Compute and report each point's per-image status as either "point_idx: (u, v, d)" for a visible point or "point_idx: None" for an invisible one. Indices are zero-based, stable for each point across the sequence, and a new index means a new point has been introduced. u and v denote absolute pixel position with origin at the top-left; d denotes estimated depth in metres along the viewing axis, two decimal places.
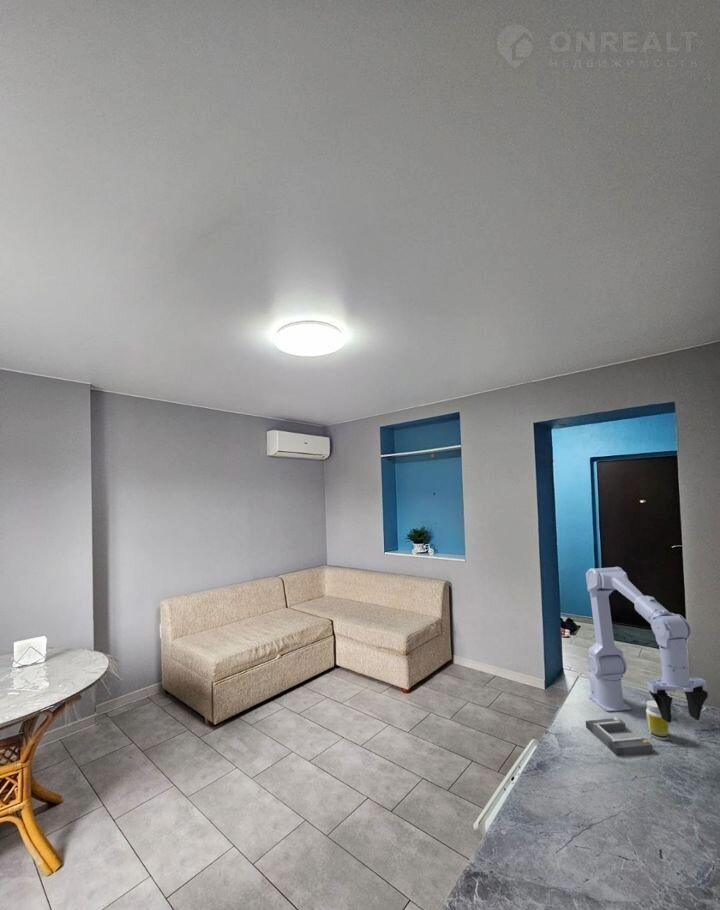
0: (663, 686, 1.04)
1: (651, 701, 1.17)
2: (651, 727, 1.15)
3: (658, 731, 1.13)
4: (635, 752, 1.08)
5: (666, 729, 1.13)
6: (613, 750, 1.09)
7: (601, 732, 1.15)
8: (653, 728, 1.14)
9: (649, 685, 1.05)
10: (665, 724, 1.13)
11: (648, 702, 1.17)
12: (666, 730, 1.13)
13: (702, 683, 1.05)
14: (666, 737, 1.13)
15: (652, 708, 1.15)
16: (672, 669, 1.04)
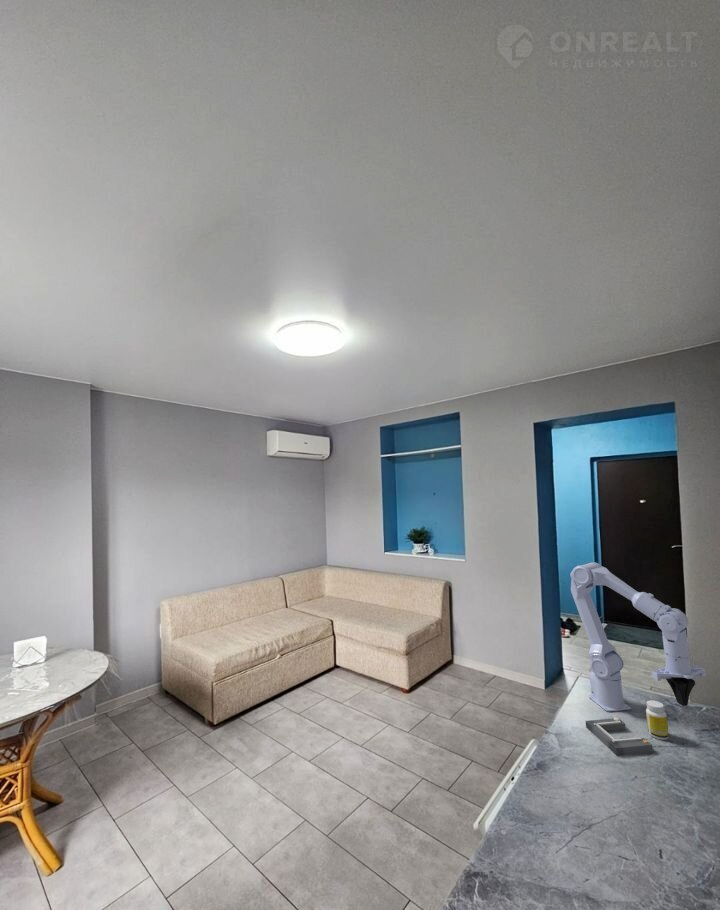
0: (666, 674, 1.15)
1: (651, 701, 1.17)
2: (651, 727, 1.15)
3: (658, 731, 1.13)
4: (635, 752, 1.08)
5: (666, 729, 1.13)
6: (613, 750, 1.09)
7: (601, 732, 1.15)
8: (652, 728, 1.14)
9: (654, 673, 1.17)
10: (665, 724, 1.13)
11: (648, 702, 1.17)
12: (666, 730, 1.13)
13: (701, 671, 1.17)
14: (666, 737, 1.13)
15: (652, 708, 1.15)
16: (674, 659, 1.16)
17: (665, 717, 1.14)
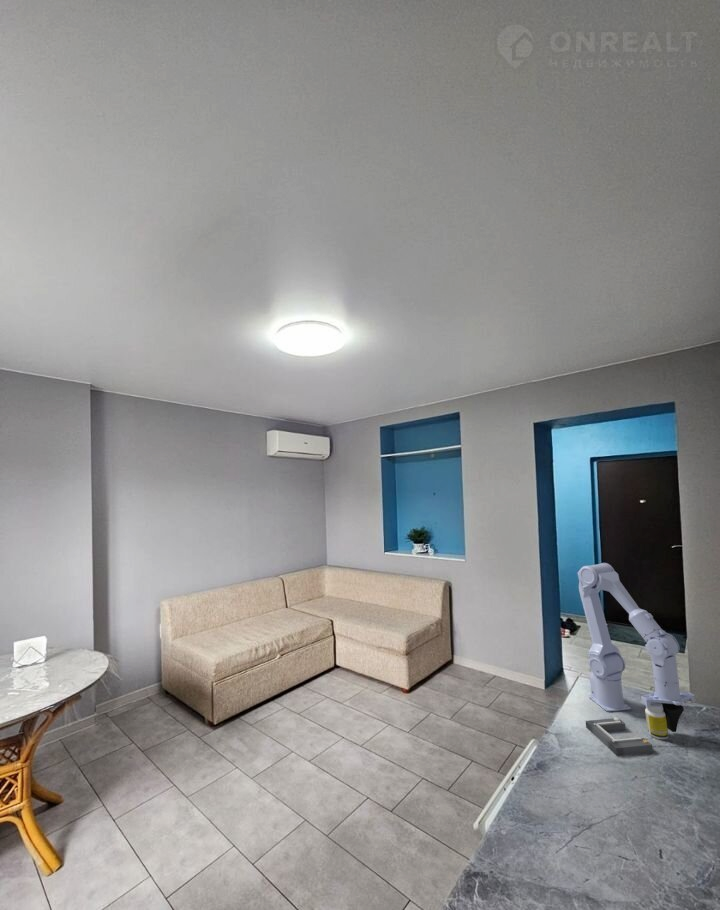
0: (656, 700, 1.15)
1: None
2: (651, 727, 1.15)
3: (657, 731, 1.13)
4: (635, 752, 1.08)
5: (666, 729, 1.13)
6: (613, 750, 1.09)
7: (601, 732, 1.15)
8: (652, 728, 1.14)
9: (643, 699, 1.16)
10: (664, 724, 1.13)
11: None
12: (666, 730, 1.13)
13: (691, 697, 1.16)
14: (666, 737, 1.13)
15: (651, 708, 1.15)
16: (664, 684, 1.15)
17: (664, 717, 1.14)
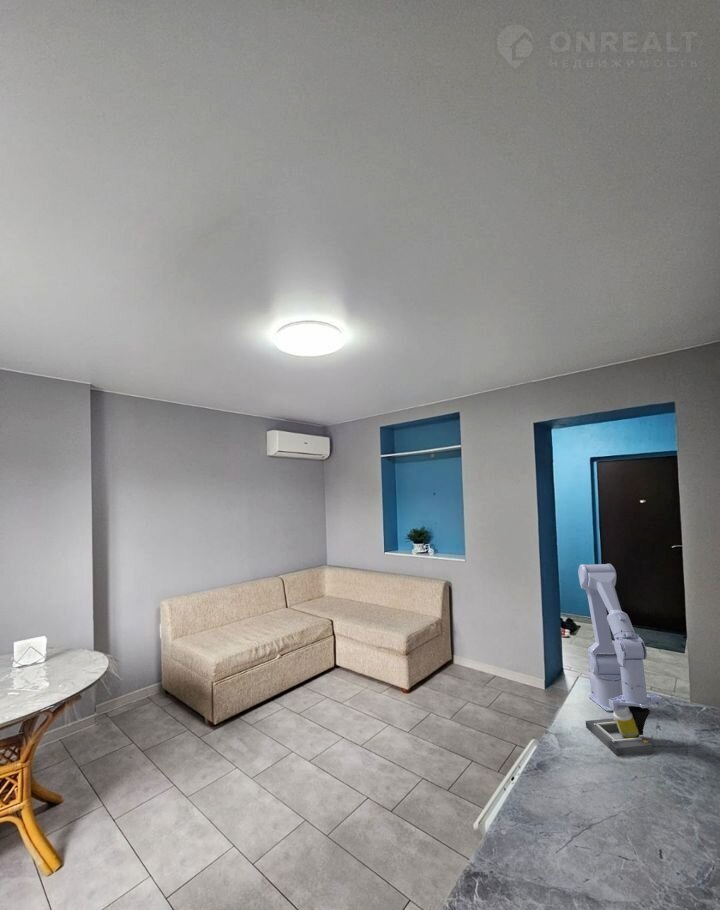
0: (622, 703, 1.14)
1: None
2: (622, 731, 1.14)
3: (628, 734, 1.13)
4: (635, 752, 1.08)
5: (635, 729, 1.13)
6: (613, 750, 1.09)
7: (601, 732, 1.15)
8: (623, 732, 1.13)
9: (610, 702, 1.15)
10: (633, 725, 1.13)
11: None
12: (635, 730, 1.13)
13: (658, 700, 1.15)
14: (637, 737, 1.12)
15: (618, 712, 1.14)
16: (630, 687, 1.14)
17: (632, 718, 1.13)
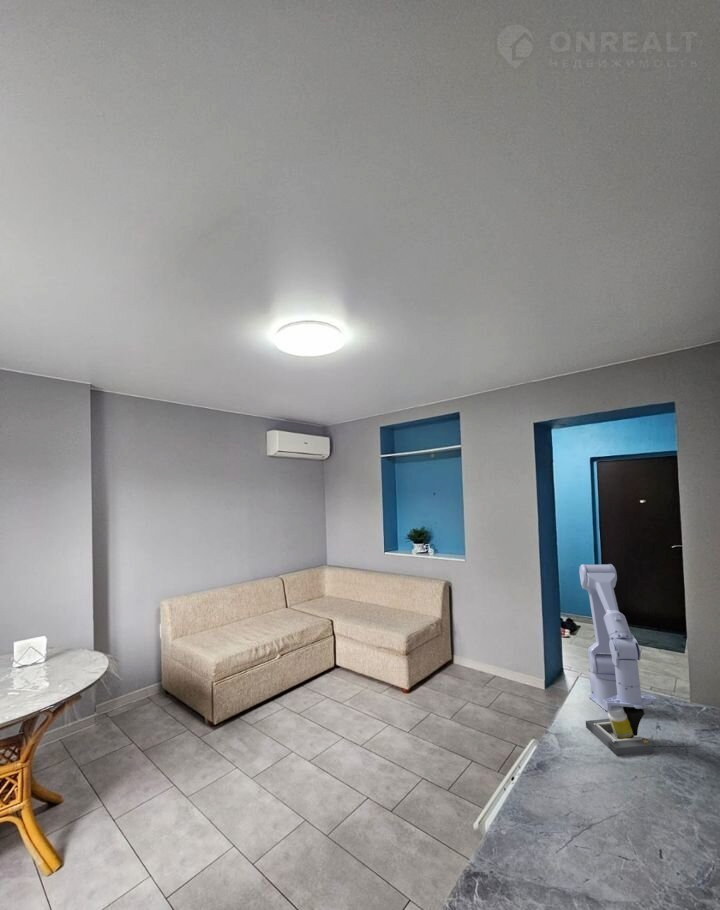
0: (617, 703, 1.14)
1: None
2: (616, 732, 1.13)
3: (623, 734, 1.12)
4: (635, 752, 1.08)
5: (630, 730, 1.12)
6: (613, 750, 1.09)
7: (601, 732, 1.15)
8: (617, 732, 1.13)
9: (604, 702, 1.15)
10: (628, 725, 1.12)
11: None
12: (630, 731, 1.12)
13: (653, 700, 1.15)
14: None
15: (612, 713, 1.13)
16: (625, 688, 1.14)
17: (626, 719, 1.13)
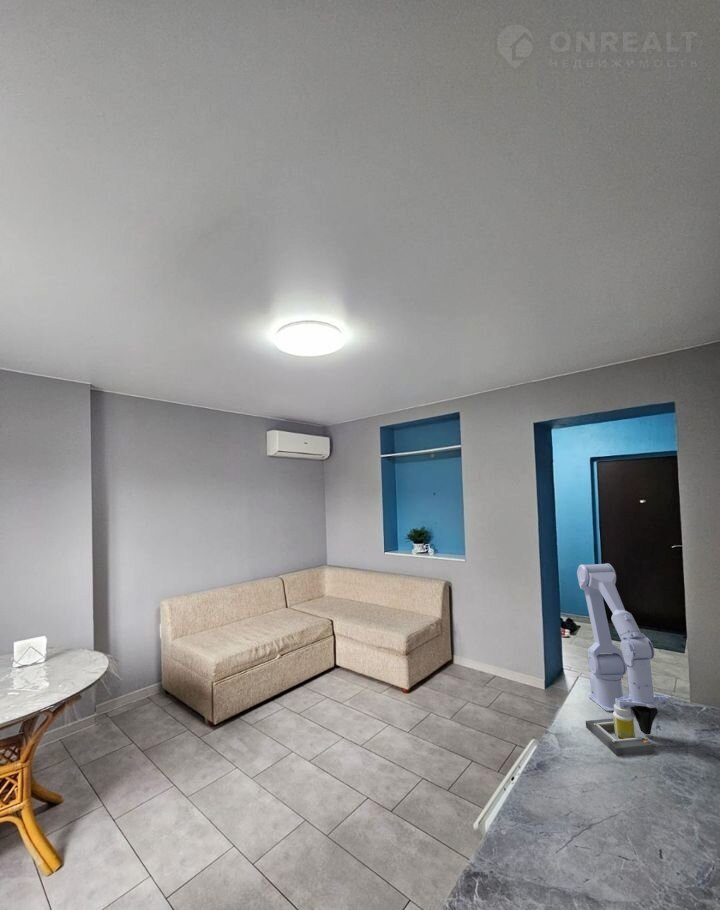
0: (629, 702, 1.14)
1: None
2: (619, 731, 1.14)
3: (625, 735, 1.12)
4: (635, 752, 1.08)
5: (633, 732, 1.13)
6: (613, 750, 1.09)
7: (601, 732, 1.15)
8: (620, 732, 1.13)
9: (617, 701, 1.15)
10: (632, 727, 1.13)
11: (615, 705, 1.16)
12: (633, 733, 1.13)
13: (665, 700, 1.15)
14: None
15: (619, 711, 1.14)
16: (637, 687, 1.14)
17: (632, 720, 1.13)
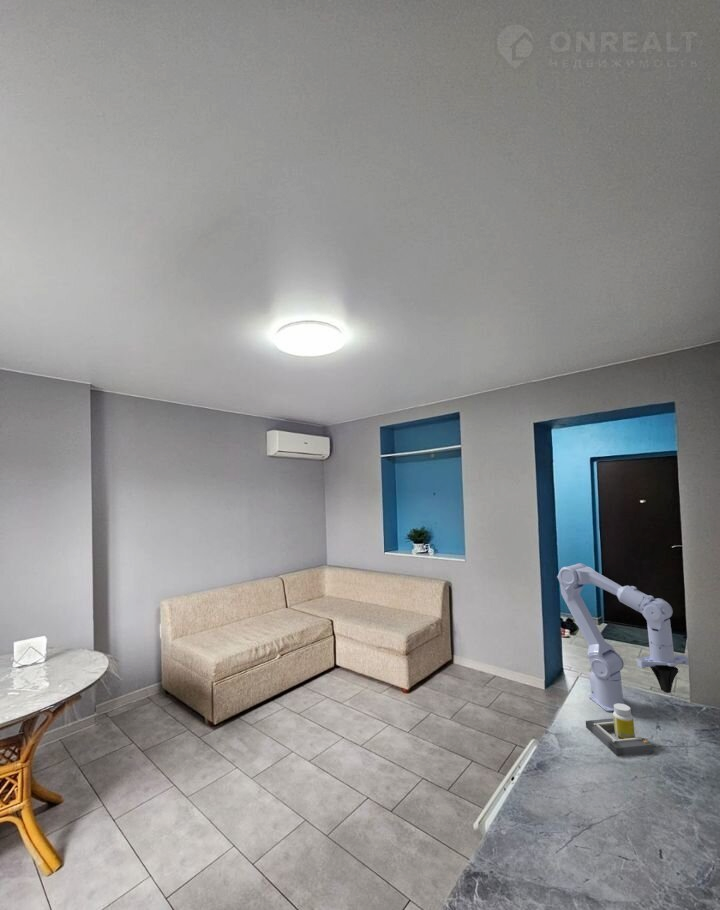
0: (650, 662, 1.18)
1: (618, 704, 1.16)
2: (619, 731, 1.14)
3: (625, 735, 1.12)
4: (635, 752, 1.08)
5: (633, 732, 1.13)
6: (613, 750, 1.09)
7: (601, 732, 1.15)
8: (620, 732, 1.13)
9: (638, 661, 1.20)
10: (632, 727, 1.13)
11: (615, 705, 1.16)
12: (633, 733, 1.13)
13: (685, 659, 1.20)
14: None
15: (619, 711, 1.14)
16: (658, 647, 1.19)
17: (632, 720, 1.13)
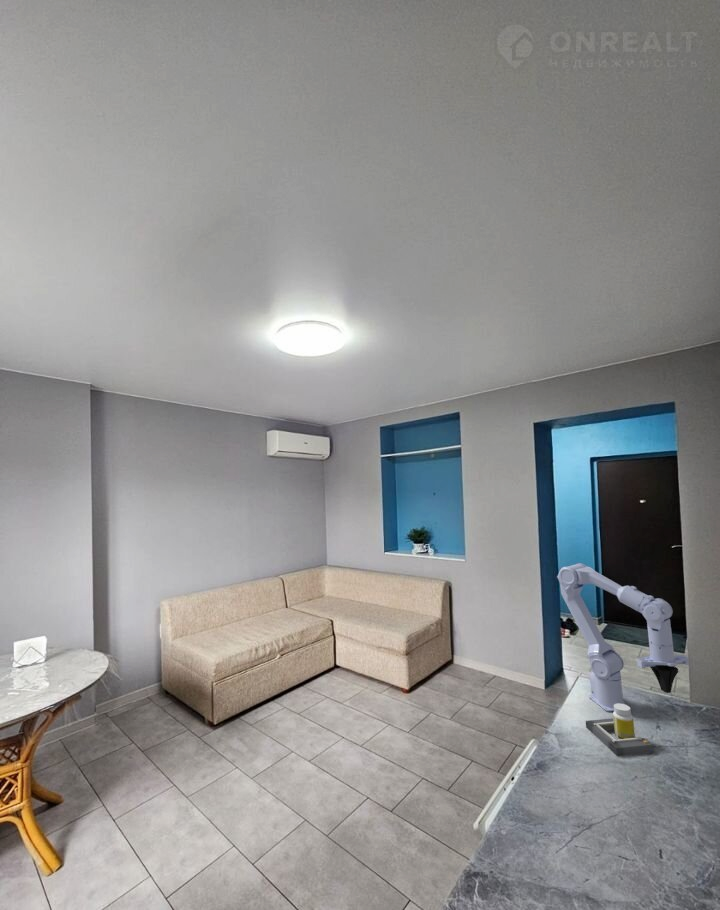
0: (650, 662, 1.18)
1: (618, 704, 1.16)
2: (619, 731, 1.14)
3: (625, 735, 1.12)
4: (635, 752, 1.08)
5: (633, 732, 1.13)
6: (613, 750, 1.09)
7: (601, 732, 1.15)
8: (620, 732, 1.13)
9: (638, 661, 1.20)
10: (632, 727, 1.13)
11: (615, 705, 1.16)
12: (633, 733, 1.13)
13: (685, 659, 1.20)
14: None
15: (619, 711, 1.14)
16: (658, 647, 1.19)
17: (632, 720, 1.13)
